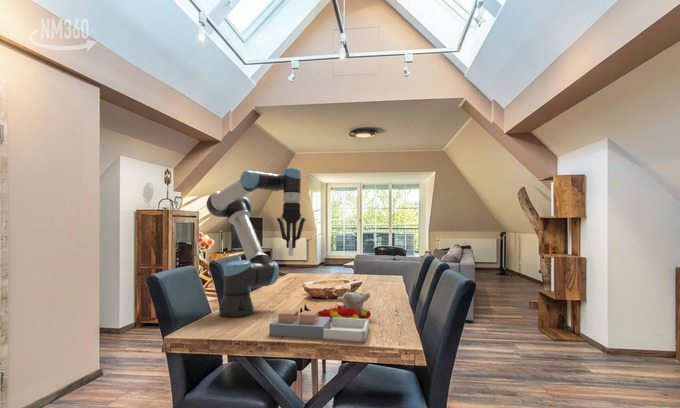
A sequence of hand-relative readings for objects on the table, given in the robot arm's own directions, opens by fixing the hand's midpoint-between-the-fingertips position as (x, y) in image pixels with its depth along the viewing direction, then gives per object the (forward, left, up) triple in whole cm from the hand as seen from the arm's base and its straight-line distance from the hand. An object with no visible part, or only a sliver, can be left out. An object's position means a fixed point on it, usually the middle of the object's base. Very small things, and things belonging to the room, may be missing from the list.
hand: (290, 255), depth 159 cm
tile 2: (+14, -20, -23) cm, 33 cm away
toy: (+26, +15, -27) cm, 40 cm away
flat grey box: (+11, -20, -27) cm, 35 cm away
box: (+28, -20, -27) cm, 44 cm away
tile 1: (+6, -20, -23) cm, 31 cm away
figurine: (+21, 0, -27) cm, 34 cm away
